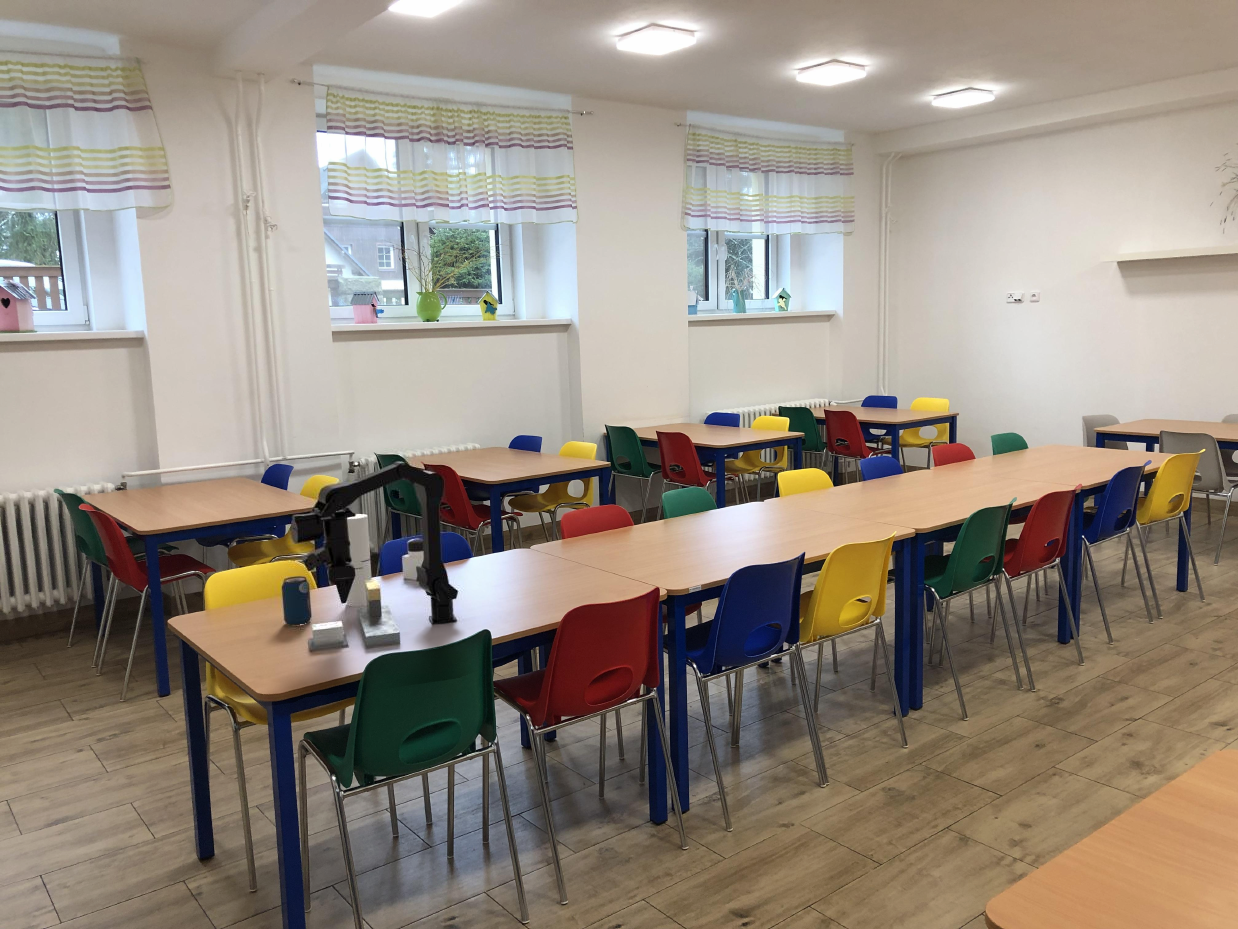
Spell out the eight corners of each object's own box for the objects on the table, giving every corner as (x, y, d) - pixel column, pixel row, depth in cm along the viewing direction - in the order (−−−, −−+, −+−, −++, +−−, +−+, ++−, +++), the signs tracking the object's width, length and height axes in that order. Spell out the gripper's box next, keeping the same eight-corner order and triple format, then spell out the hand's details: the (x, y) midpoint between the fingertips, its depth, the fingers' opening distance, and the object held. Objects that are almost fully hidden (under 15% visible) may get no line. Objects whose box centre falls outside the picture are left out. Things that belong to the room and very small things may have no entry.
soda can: (316, 622, 254) (313, 578, 252) (292, 628, 249) (288, 583, 247) (304, 617, 259) (301, 574, 257) (279, 623, 254) (276, 579, 252)
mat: (308, 640, 238) (308, 638, 238) (345, 636, 241) (345, 633, 241) (309, 651, 230) (309, 649, 230) (348, 646, 233) (348, 644, 233)
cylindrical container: (377, 602, 272) (372, 515, 268) (355, 608, 266) (349, 519, 263) (364, 598, 276) (358, 513, 273) (342, 603, 271) (336, 517, 268)
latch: (365, 591, 255) (364, 580, 255) (376, 590, 256) (376, 579, 256) (369, 601, 246) (368, 589, 246) (380, 599, 247) (380, 588, 247)
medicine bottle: (435, 575, 301) (433, 538, 299) (419, 581, 295) (417, 542, 293) (419, 573, 304) (416, 536, 303) (402, 578, 299) (400, 540, 297)
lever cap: (313, 640, 236) (311, 624, 236) (342, 636, 239) (341, 621, 238) (313, 646, 232) (312, 630, 231) (343, 642, 234) (342, 626, 234)
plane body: (357, 619, 255) (356, 594, 254) (388, 616, 258) (386, 590, 257) (366, 648, 231) (365, 620, 230) (400, 644, 233) (398, 616, 232)
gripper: (301, 533, 240) (306, 593, 242) (303, 548, 223) (309, 613, 225) (347, 528, 244) (352, 587, 246) (352, 542, 226) (358, 606, 228)
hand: (342, 598), depth 236 cm, fingers open, 9 cm apart
